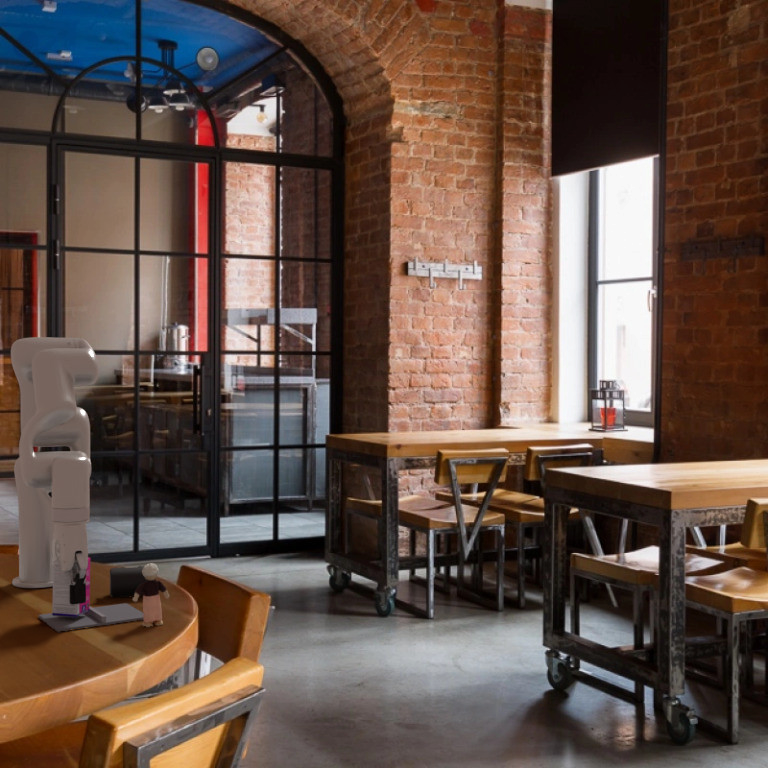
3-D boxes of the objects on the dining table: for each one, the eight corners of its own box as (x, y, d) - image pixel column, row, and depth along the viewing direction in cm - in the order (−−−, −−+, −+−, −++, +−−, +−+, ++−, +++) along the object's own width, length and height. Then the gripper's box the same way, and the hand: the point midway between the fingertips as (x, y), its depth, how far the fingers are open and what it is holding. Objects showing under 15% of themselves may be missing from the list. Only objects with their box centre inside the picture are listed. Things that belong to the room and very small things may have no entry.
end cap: (110, 601, 238) (110, 571, 238) (109, 594, 245) (108, 565, 244) (156, 598, 241) (155, 568, 241) (153, 591, 248) (153, 562, 247)
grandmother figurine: (161, 620, 221) (161, 559, 221) (171, 623, 218) (171, 562, 218) (128, 626, 216) (128, 564, 215) (139, 630, 213) (138, 567, 212)
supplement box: (77, 617, 217) (77, 562, 216) (51, 616, 218) (51, 560, 218) (91, 610, 222) (91, 556, 222) (65, 609, 224) (65, 555, 223)
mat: (38, 617, 223) (38, 609, 223) (126, 605, 233) (126, 597, 233) (58, 632, 211) (58, 623, 211) (149, 619, 221) (149, 610, 221)
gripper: (40, 511, 225) (41, 593, 225) (65, 522, 210) (65, 610, 211) (76, 508, 229) (76, 589, 229) (102, 519, 214) (102, 605, 215)
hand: (71, 598), depth 220 cm, fingers closed on supplement box, 8 cm apart
